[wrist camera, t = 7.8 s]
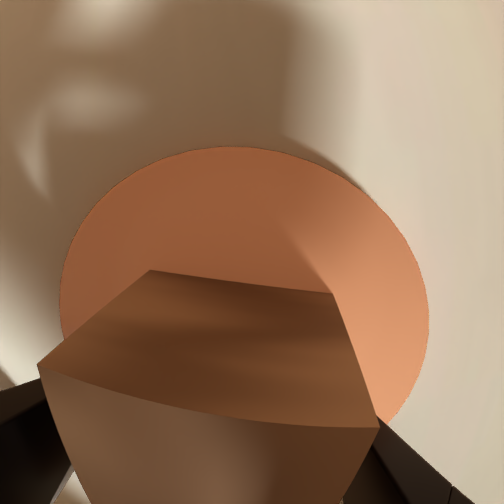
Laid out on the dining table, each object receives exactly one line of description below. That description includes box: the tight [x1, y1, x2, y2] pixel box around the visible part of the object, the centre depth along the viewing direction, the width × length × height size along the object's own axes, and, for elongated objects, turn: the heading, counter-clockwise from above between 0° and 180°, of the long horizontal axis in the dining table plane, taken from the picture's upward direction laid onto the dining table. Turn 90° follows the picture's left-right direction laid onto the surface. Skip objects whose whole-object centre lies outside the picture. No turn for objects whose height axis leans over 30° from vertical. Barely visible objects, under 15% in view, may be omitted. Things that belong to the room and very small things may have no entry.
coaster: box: [59, 147, 429, 424], centre depth 10 cm, size 12×12×1 cm
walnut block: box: [37, 270, 380, 504], centre depth 7 cm, size 5×5×5 cm
